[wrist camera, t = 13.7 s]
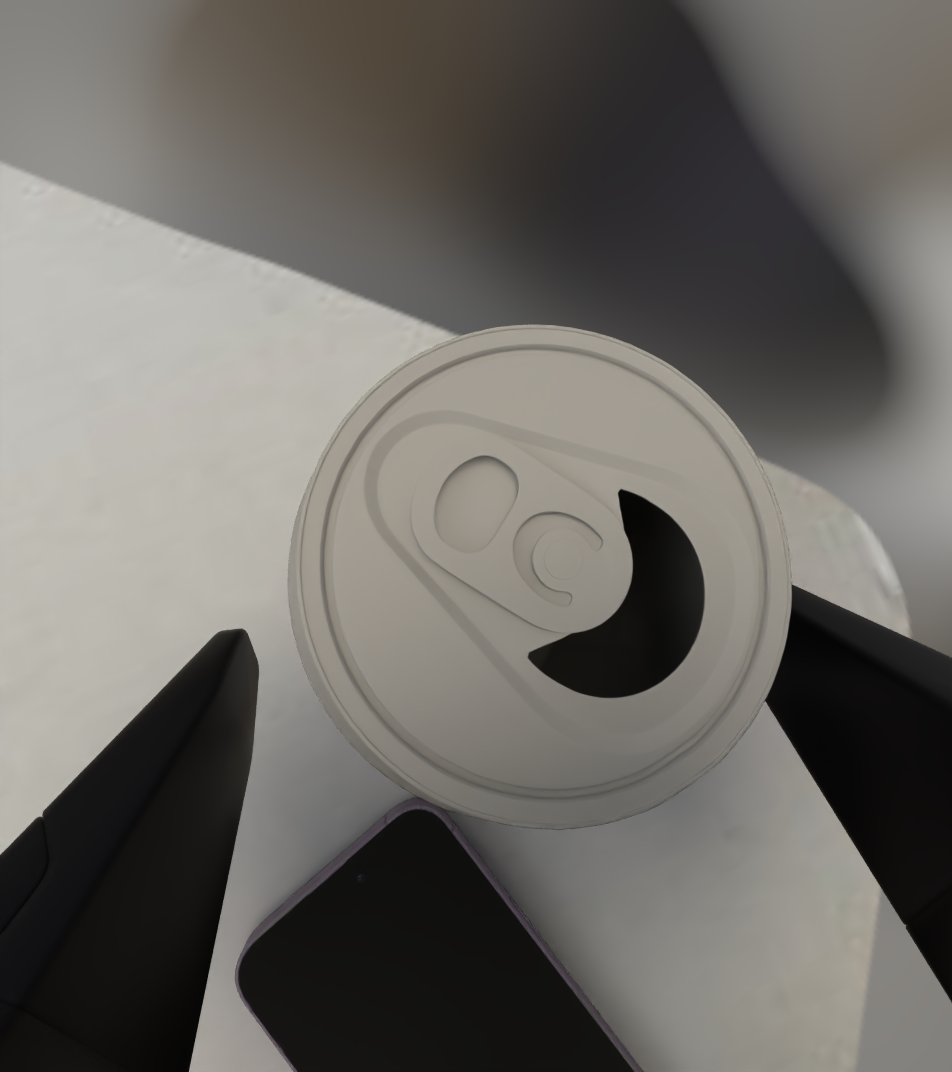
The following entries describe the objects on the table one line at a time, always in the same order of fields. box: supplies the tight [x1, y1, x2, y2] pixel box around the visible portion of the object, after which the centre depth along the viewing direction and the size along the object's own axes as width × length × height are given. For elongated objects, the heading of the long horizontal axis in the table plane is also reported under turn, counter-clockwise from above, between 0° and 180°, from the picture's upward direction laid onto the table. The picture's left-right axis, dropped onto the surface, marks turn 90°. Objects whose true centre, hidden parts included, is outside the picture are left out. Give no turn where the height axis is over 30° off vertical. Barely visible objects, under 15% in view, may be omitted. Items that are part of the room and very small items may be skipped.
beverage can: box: [288, 325, 792, 830], centre depth 11 cm, size 6×6×12 cm
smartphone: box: [235, 798, 643, 1072], centre depth 15 cm, size 7×1×15 cm
